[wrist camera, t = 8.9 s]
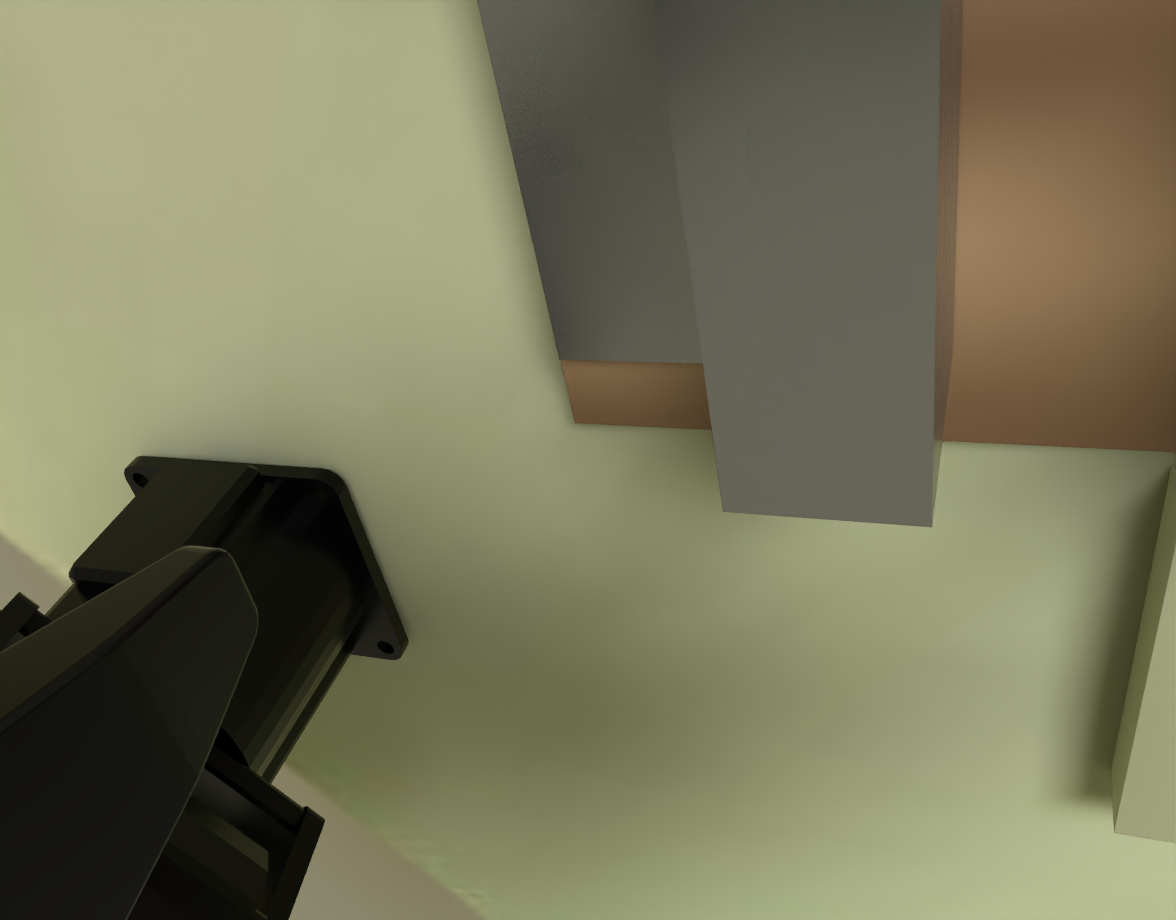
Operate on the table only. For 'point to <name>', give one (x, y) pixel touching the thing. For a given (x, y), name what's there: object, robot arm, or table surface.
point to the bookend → (754, 223)
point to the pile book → (1151, 703)
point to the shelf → (1030, 240)
